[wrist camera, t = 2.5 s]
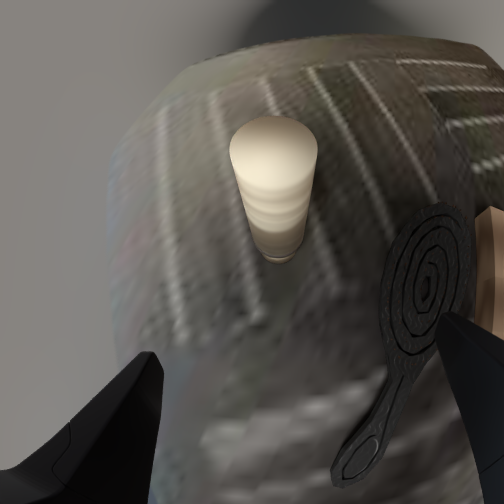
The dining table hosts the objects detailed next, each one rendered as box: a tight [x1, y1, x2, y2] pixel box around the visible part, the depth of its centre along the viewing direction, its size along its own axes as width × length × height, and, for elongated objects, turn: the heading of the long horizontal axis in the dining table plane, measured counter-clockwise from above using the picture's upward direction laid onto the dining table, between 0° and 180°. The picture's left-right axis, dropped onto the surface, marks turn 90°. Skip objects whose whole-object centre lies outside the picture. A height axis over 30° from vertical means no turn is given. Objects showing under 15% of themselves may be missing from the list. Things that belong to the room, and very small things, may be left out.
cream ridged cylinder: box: [230, 116, 318, 264], centre depth 17 cm, size 4×4×12 cm
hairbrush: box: [330, 202, 472, 488], centre depth 18 cm, size 8×4×25 cm
